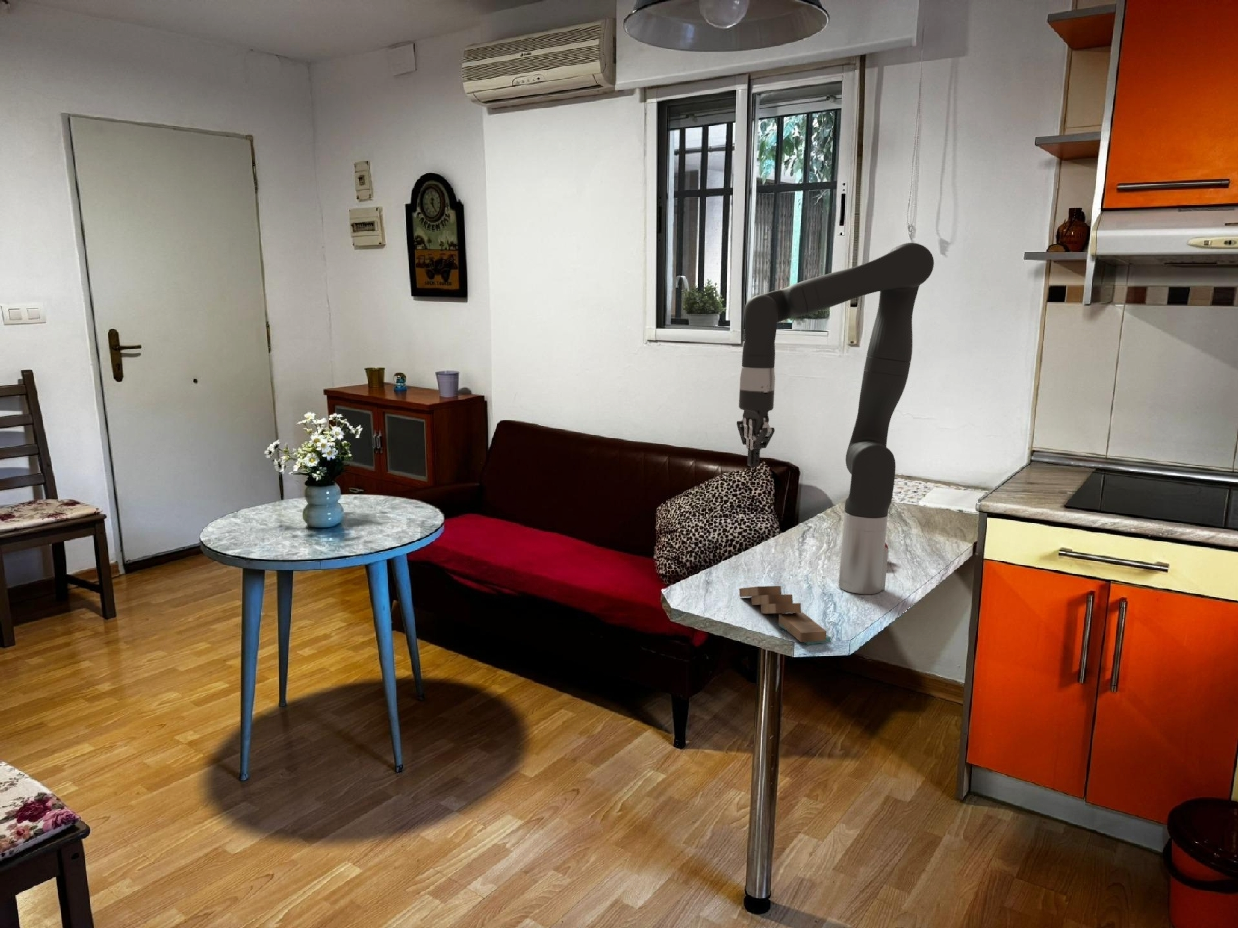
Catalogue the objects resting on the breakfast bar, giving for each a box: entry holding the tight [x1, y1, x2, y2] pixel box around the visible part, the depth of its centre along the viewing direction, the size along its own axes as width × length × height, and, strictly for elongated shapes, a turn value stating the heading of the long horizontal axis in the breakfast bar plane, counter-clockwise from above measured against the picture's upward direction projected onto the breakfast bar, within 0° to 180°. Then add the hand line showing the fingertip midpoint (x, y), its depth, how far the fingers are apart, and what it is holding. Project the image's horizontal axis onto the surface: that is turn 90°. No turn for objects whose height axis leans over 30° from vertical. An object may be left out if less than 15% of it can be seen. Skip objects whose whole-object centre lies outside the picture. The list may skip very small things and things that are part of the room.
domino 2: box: [750, 593, 794, 606], centre depth 173 cm, size 5×2×10 cm
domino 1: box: [738, 585, 782, 598], centre depth 178 cm, size 5×2×10 cm
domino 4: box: [778, 611, 828, 643], centre depth 162 cm, size 5×2×10 cm
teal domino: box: [778, 622, 831, 645], centre depth 163 cm, size 5×2×10 cm
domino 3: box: [760, 602, 802, 614], centre depth 169 cm, size 5×2×10 cm
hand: (753, 465), depth 189 cm, fingers closed
